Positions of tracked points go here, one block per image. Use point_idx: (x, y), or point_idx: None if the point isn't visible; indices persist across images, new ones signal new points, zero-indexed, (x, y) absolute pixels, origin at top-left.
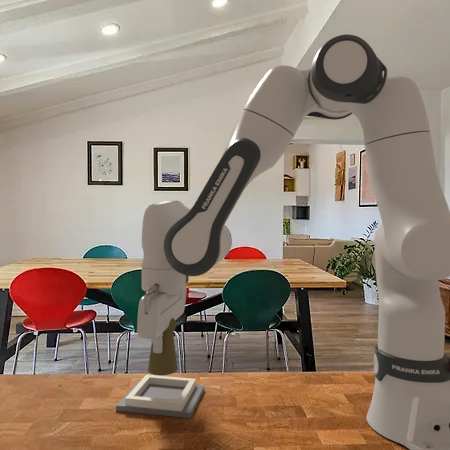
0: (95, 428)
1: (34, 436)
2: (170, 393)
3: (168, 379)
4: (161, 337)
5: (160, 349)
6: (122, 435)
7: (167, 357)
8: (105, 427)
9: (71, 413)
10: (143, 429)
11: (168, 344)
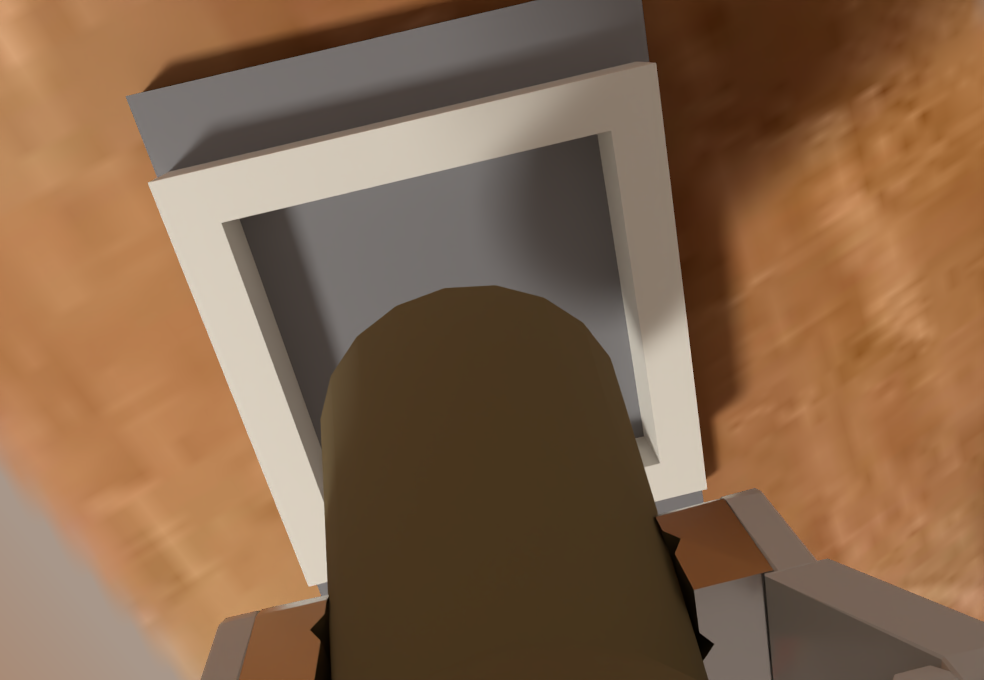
0: (890, 461)
1: None
2: (410, 293)
3: (288, 401)
4: (963, 645)
5: (779, 523)
6: (928, 293)
7: (599, 415)
8: (870, 424)
9: None
10: (844, 219)
11: (614, 519)
